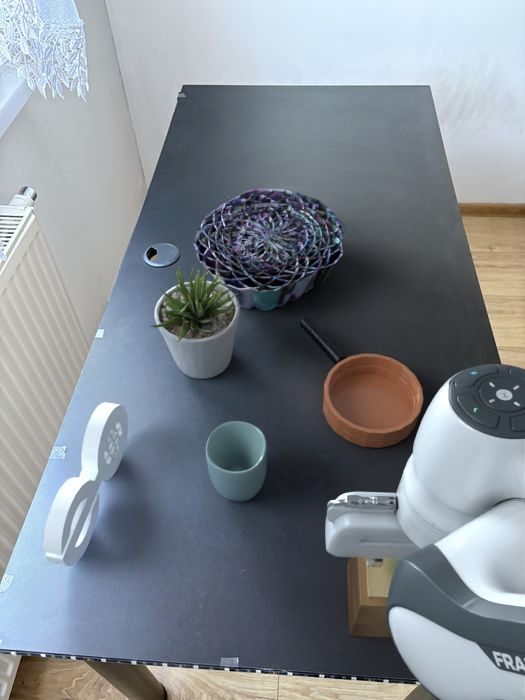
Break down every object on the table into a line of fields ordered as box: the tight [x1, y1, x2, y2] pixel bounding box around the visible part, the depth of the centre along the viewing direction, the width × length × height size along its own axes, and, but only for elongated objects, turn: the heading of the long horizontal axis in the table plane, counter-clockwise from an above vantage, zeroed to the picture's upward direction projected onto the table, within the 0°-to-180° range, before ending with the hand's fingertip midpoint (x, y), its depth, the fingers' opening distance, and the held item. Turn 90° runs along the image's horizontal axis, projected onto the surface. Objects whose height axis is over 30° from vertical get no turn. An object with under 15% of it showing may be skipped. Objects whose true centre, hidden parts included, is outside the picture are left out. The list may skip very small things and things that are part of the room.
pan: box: [322, 353, 424, 449], centre depth 89 cm, size 14×14×4 cm
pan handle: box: [298, 316, 347, 366], centre depth 95 cm, size 10×2×2 cm, turn 32°
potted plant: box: [149, 265, 241, 380], centre depth 89 cm, size 13×14×20 cm
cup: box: [205, 420, 268, 502], centre depth 79 cm, size 8×8×10 cm
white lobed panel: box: [43, 402, 129, 567], centre depth 78 cm, size 22×2×10 cm, turn 169°
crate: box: [346, 557, 394, 639], centre depth 68 cm, size 12×8×12 cm, turn 87°
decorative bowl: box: [192, 188, 346, 312], centre depth 107 cm, size 26×28×10 cm
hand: (419, 561), depth 62 cm, fingers open, 8 cm apart
